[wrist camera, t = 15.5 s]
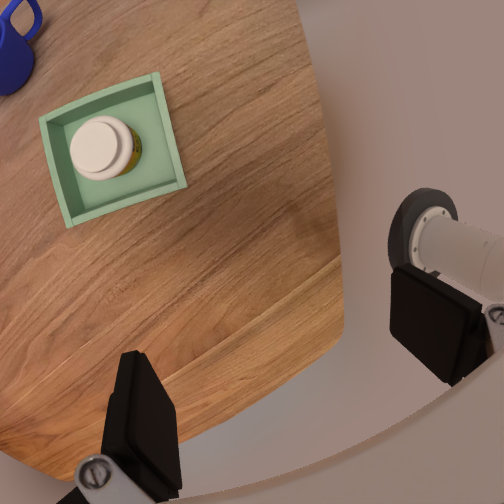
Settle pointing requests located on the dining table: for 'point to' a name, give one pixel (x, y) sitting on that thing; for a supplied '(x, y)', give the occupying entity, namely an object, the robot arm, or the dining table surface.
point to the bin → (126, 186)
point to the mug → (16, 49)
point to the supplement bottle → (105, 148)
